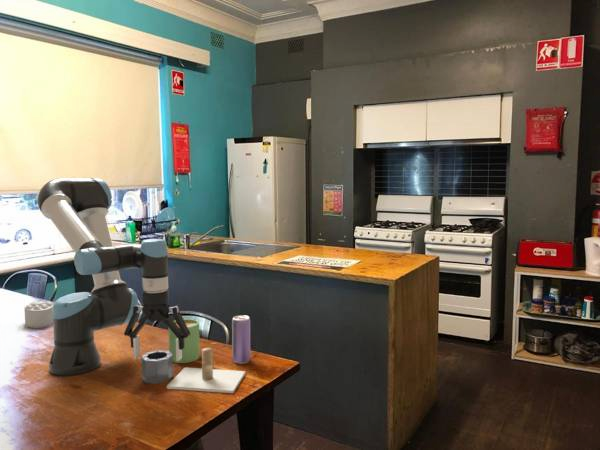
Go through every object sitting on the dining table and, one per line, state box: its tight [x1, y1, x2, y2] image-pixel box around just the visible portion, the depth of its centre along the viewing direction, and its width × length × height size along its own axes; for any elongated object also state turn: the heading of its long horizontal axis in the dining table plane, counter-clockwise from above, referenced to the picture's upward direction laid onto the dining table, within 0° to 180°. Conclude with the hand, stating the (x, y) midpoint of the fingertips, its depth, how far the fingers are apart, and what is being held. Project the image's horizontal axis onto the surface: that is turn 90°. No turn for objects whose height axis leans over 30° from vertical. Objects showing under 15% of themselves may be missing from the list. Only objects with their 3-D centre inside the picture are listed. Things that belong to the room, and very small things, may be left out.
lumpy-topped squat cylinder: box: [24, 300, 53, 329], centre depth 202 cm, size 10×13×9 cm
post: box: [201, 347, 214, 381], centre depth 146 cm, size 3×3×9 cm
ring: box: [140, 349, 174, 384], centre depth 148 cm, size 9×9×7 cm
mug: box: [168, 318, 201, 364], centre depth 165 cm, size 13×10×12 cm
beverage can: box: [231, 314, 251, 365], centre depth 161 cm, size 6×6×15 cm
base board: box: [166, 366, 246, 394], centre depth 146 cm, size 20×14×1 cm
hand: (158, 358), depth 148 cm, fingers open, 13 cm apart
